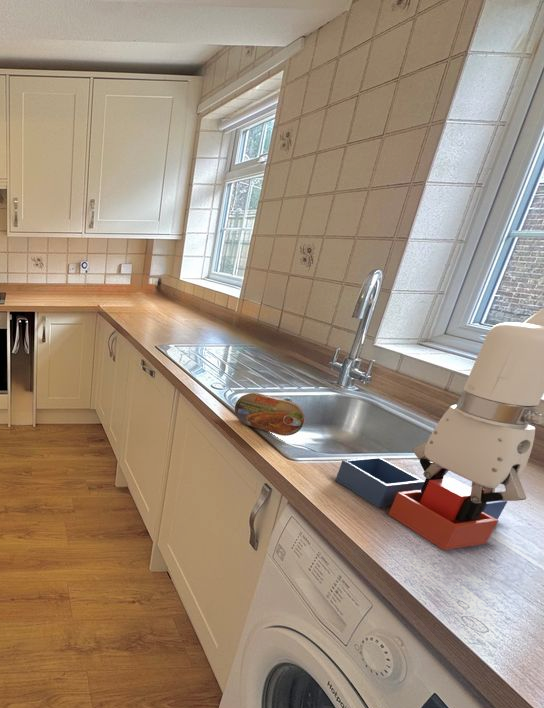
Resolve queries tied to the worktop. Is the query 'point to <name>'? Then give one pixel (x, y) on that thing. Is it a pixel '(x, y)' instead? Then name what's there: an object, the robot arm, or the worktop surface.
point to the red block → (445, 497)
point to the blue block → (494, 508)
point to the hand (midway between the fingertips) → (446, 508)
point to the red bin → (440, 523)
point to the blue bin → (376, 480)
